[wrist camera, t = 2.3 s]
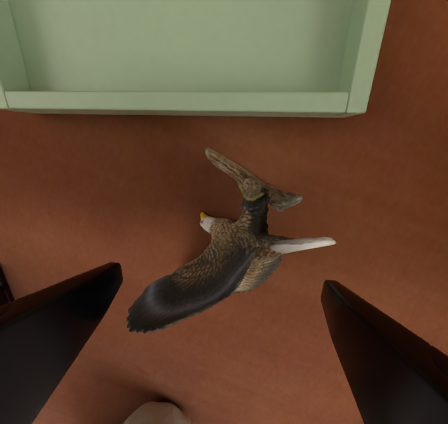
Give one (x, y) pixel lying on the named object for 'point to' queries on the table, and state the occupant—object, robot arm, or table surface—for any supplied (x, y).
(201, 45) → the tray
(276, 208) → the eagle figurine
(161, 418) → the ceramic sculpture
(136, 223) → the table surface
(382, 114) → the table surface
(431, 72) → the table surface
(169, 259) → the table surface
